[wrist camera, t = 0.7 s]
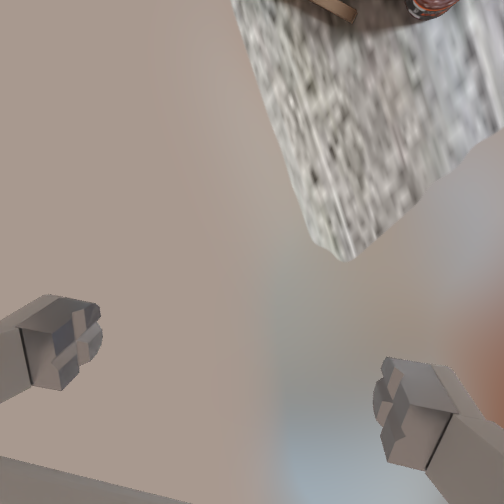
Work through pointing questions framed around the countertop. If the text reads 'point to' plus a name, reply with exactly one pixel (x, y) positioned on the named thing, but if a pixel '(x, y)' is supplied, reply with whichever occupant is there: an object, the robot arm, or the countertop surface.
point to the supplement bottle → (428, 8)
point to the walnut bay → (337, 9)
